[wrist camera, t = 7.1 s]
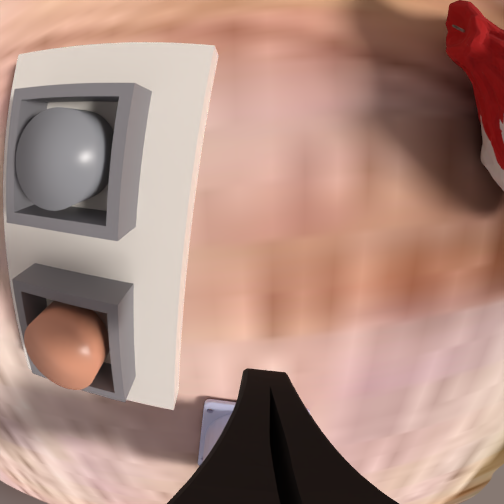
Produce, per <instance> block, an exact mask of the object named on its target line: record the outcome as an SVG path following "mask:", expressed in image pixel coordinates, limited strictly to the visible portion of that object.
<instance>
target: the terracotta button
mask: <svg viewBox="0 0 504 504" xmlns="http://www.w3.org/2000/svg"><path fill="white" fill-rule="evenodd" d="M24 343H25V347H26V351H27V353H28V355H29V357H30V359H31V361H32V362H33V364H34V365H35V366H36V368H37V369H38V370H39V371H40V372H41V373H42V374H43V375H44V376H45V377H47V378H48V379H49V380H51V381H52V382H54V383H55V384H57V385H59V386H62V387H64V388H68V389H73V390H80V389H84V388H86V387H88V386H89V385H90V384H91V383H92V382H93V380H94V378H95V376H96V374H97V373H98V371H99V369H100V367H101V366H102V364H103V362H104V360H105V359H106V357H107V355H108V353H109V351H110V347H109V335H108V331H107V329H106V327H105V325H104V323H103V322H102V320H101V319H100V318H99V316H98V315H97V314H96V313H95V312H94V311H93V310H90V309H86V308H82V307H78V306H74V305H70V304H66V303H62V302H58V301H53V302H52V303H51V304H49V305H48V306H47V307H46V308H45V309H44V310H43V311H42V312H41V313H40V314H39V315H38V316H37V317H36V318H35V319H34V320H33V321H32V322H31V323H30V324H29V325H28V327H27V328H26V330H25V334H24Z"/></svg>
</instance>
